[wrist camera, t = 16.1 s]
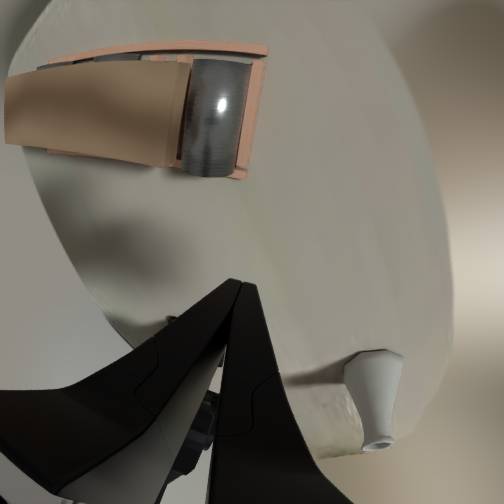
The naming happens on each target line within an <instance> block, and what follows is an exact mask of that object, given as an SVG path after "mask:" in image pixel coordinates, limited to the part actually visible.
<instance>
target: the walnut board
mask: <svg viewBox="0 0 504 504" xmlns="http://www.w3.org/2000/svg"><path fill="white" fill-rule="evenodd" d="M190 68H191V64H190V63H184V62H175V61H146V60H136V61H107V62H93V63H83V64H74V65H66V66H60V67H53V68H48V69H42V70H37V71H32V72H28V73H23V74H19V75H15V76H11V77H8V78H6V85H5V105H4V112H5V113H4V124H5V126H4V127H5V144H14V145H24V146H33V147H41V148H49V149H57V150H64V151H71V152H77V153H84V154H90V155H96V156H102V157H108V158H113V159H119V160H124V161H130V162H135V163H140V164H145V165H150V166H155V167H159V168H165V167H167V166H168V165H170V164H172V163H173V162H175V161H176V155H177V147H178V139H179V132H180V125H181V118H182V112H183V106H184V100H185V94H186V88H187V83H188V78H189V73H190Z"/></svg>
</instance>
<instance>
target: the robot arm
mask: <svg viewBox="0 0 504 504" xmlns="http://www.w3.org/2000/svg"><path fill="white" fill-rule="evenodd" d="M225 349H226V353H225ZM224 355H225V360H224ZM223 362H224V367H223V374H222V381H221V388H220V393H219V394H218V393H215V392H212V391H210V390H208V389H209V386H210V383H211V380H212V378H213V376H214V374H215V371H216V369H217V367H222V366H223ZM278 371H279V369H278V365H277V362H276V358H275V354H274V350H273V346H272V343H271V339H270V335H269V331H268V327H267V324H266V320H265V316H264V312H263V308H262V305H261V301H260V297H259V293H258V289H257V286H256V285H255V284H253V283H248V282H243V283H242V281H240V280H236V279H232V278H229V279H227V280H226V281H225V282H223V283H222V284H221V285H220V286H218V287H217V288H216V289H214V290H213V291H212V292H210V293H209V294H208V295H206V296H205V297H204V298H202V299H201V300H200V301H198V302H197V303H196V304H194V305H193V306H192V307H191V308H189V309H188V310H187V311H185V312H184V313H183V314H181V315H180V316H179V317H177V318H175V317H170V318H169V320H168V325H167V326H165V327H164V328H163V329H161V330H160V331H159V332H157V333H156V334H155V335H154V337H150V338H149V339H148V340H147V341H145V342H144V343H142V344H141V345H140V346H138V347H137V348H135V349H134V350H132V351H131V352H130V353H128V354H126V355H125V356H123V357H121V358H120V359H118V360H117V361H115V362H113V363H111V364H110V365H108V366H106V367H104V368H103V369H101V370H99V371H97V372H95V373H94V374H92V375H90V376H88V377H86V378H85V379H83V380H81V381H79V382H77V383H75V384H73V385H70V386H67V387H64V388H59V389H49V390H0V504H160V502H161V499H162V496H163V494H164V491H165V489H166V487H167V484H169V483H170V482H172V481H174V480H175V479H176V478H178V477H180V476H181V475H187V474H189V473H190V472H191V471H192V470H193V469H195V466H196V464H197V462H198V460H199V457H200V455H201V453H202V450H205V451H207V450H208V449H209V447H210V446H211V444H212V442H213V446H212V454H211V461H210V469H209V477H208V485H207V493H206V501H205V504H354V503H353V502H351V501H350V500H349V499H348V498H347V497H346V496H345V495H344V494H343V493H342V492H341V491H340V490H339V489H338V488H337V487H335V486H334V485H333V484H332V483H331V482H330V481H329V480H328V479H327V478H326V477H325V476H324V475H323V473H322V472H321V471H320V469H319V468H318V466H317V465H316V463H315V461H314V459H313V457H312V455H311V453H310V451H309V449H308V447H307V444H306V442H305V440H304V438H303V435H302V433H301V431H300V429H299V426H298V424H297V422H296V420H295V417H294V415H293V412H292V410H291V407H290V405H289V402H288V400H287V397H286V393H285V390H284V387H283V384H282V380H281V376H280V373H279V372H278Z"/></svg>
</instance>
